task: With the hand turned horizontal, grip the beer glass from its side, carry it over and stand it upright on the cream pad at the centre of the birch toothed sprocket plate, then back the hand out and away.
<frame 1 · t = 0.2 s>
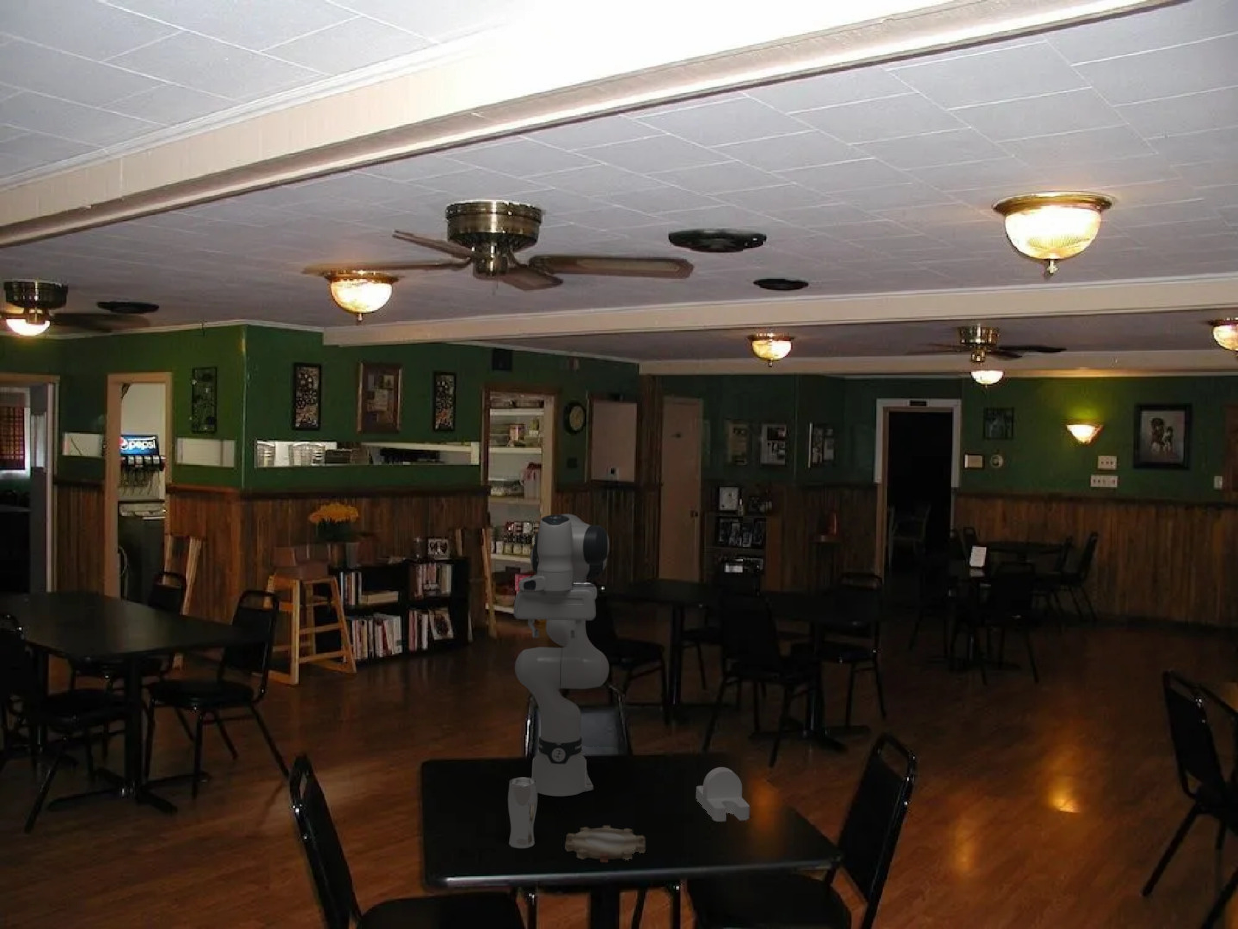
hand: (554, 637, 271), 48 cm above the table, tool pointing down, fingers open, 8 cm apart
tape dispenser: (721, 810, 291), on the table
sprocket plate: (605, 846, 263), on the table
beer glass: (521, 844, 263), on the table
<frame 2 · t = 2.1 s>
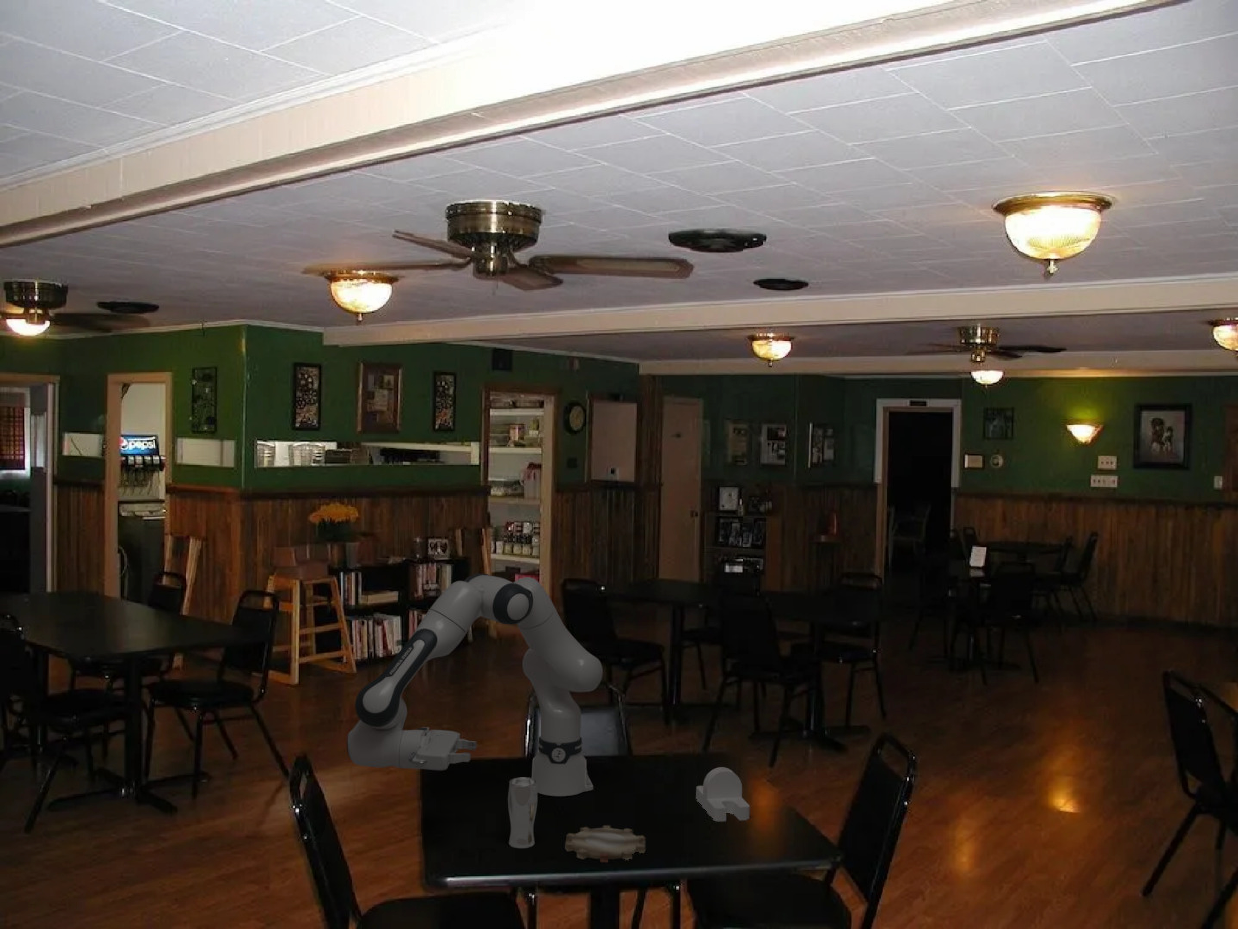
hand: (473, 751, 262), 22 cm above the table, tool horizontal, fingers open, 8 cm apart
nothing on the table moved.
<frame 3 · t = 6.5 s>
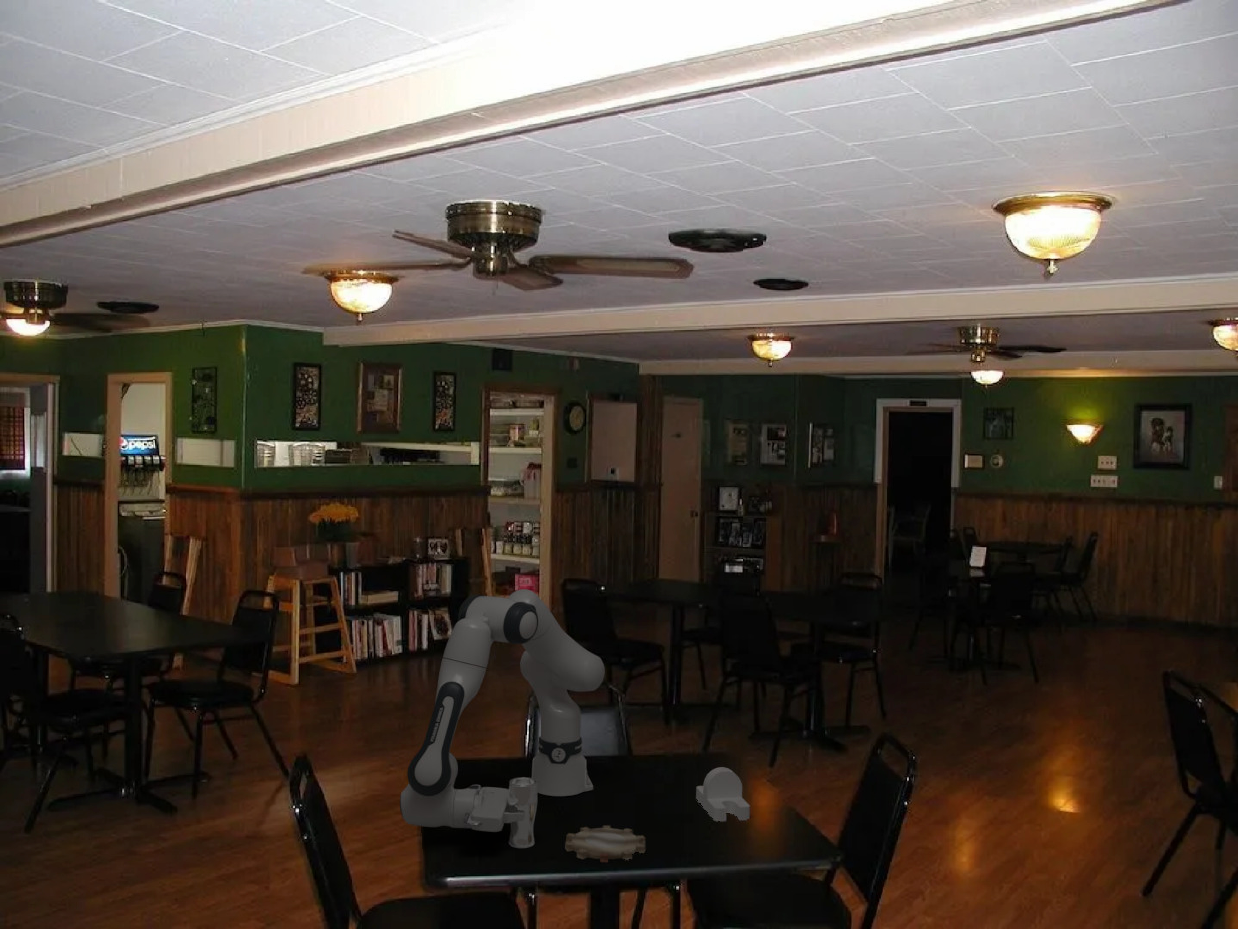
hand: (526, 810, 263), 8 cm above the table, tool horizontal, fingers closed on beer glass, 6 cm apart
beer glass: (521, 844, 263), on the table, touching gripper
everything else where it was.
when the fingers open (10 cm above the table, at t = 11.4 s): beer glass moves 1 cm, resting on sprocket plate.
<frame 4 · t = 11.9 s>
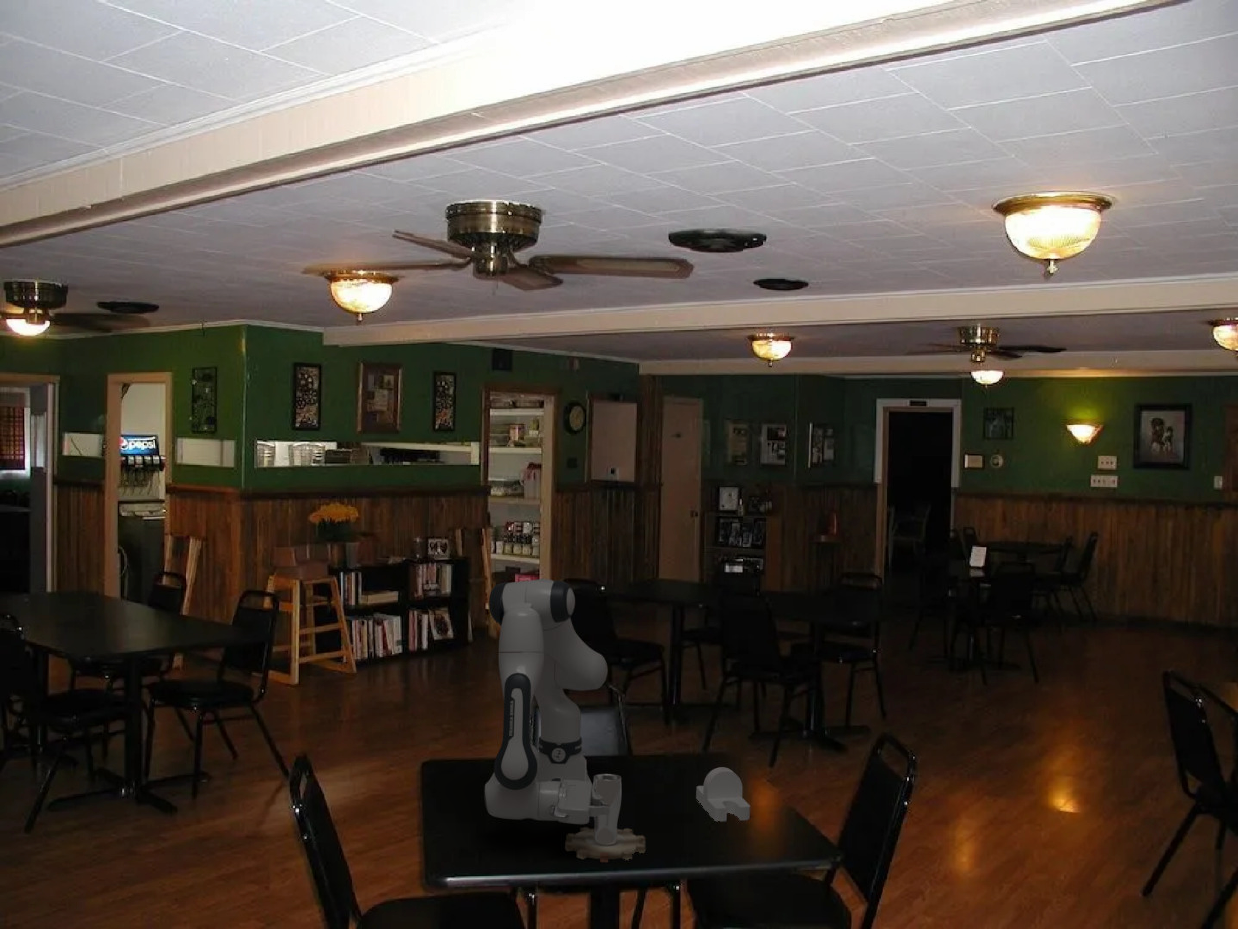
hand: (610, 803, 262), 10 cm above the table, tool horizontal, fingers open, 8 cm apart
beer glass: (605, 842, 261), point 2 cm above the table, touching gripper, sprocket plate
everything else where it was.
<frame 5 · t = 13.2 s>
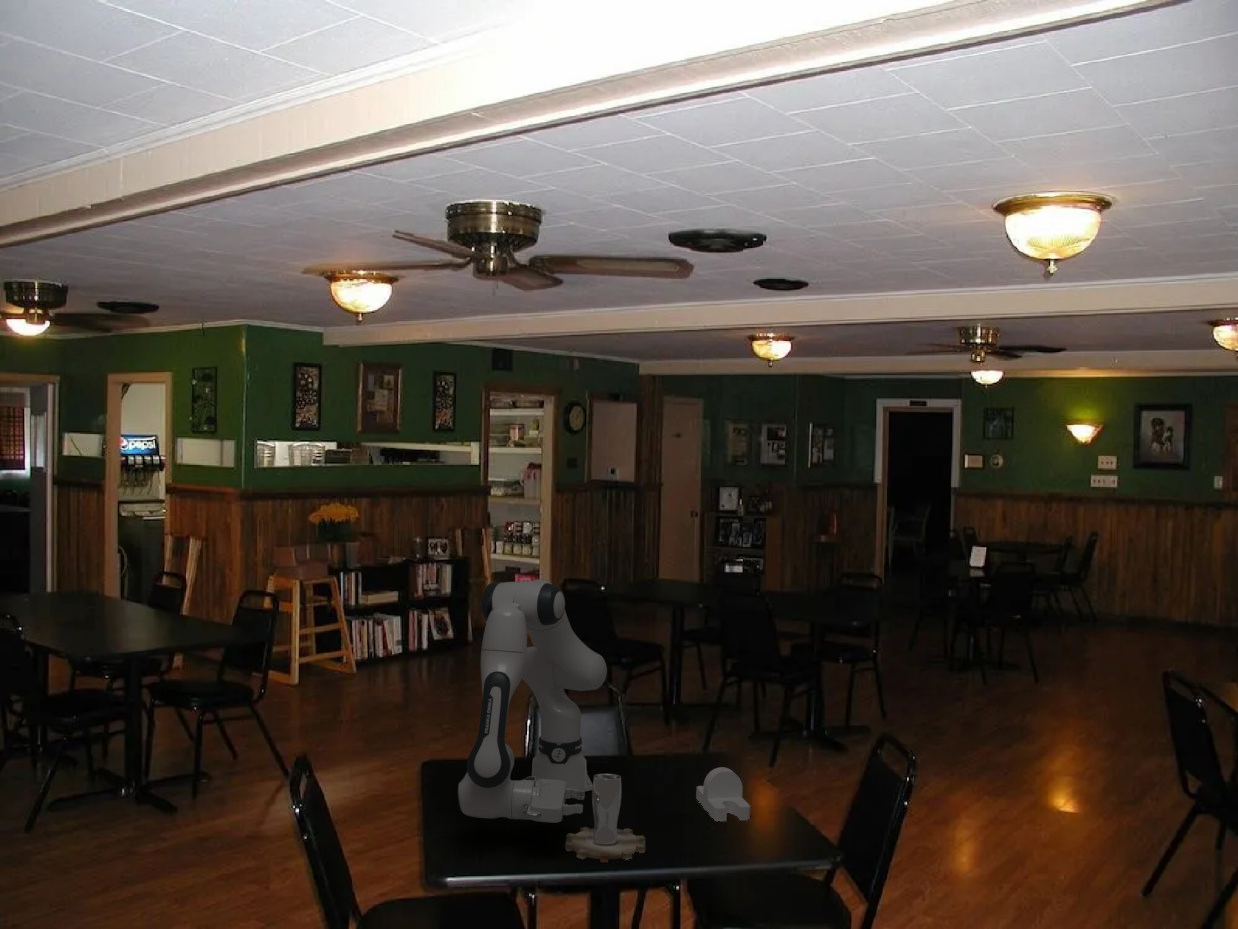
hand: (583, 802, 262), 11 cm above the table, tool horizontal, fingers open, 8 cm apart
beer glass: (605, 841, 261), point 2 cm above the table, touching sprocket plate
everything else where it was.
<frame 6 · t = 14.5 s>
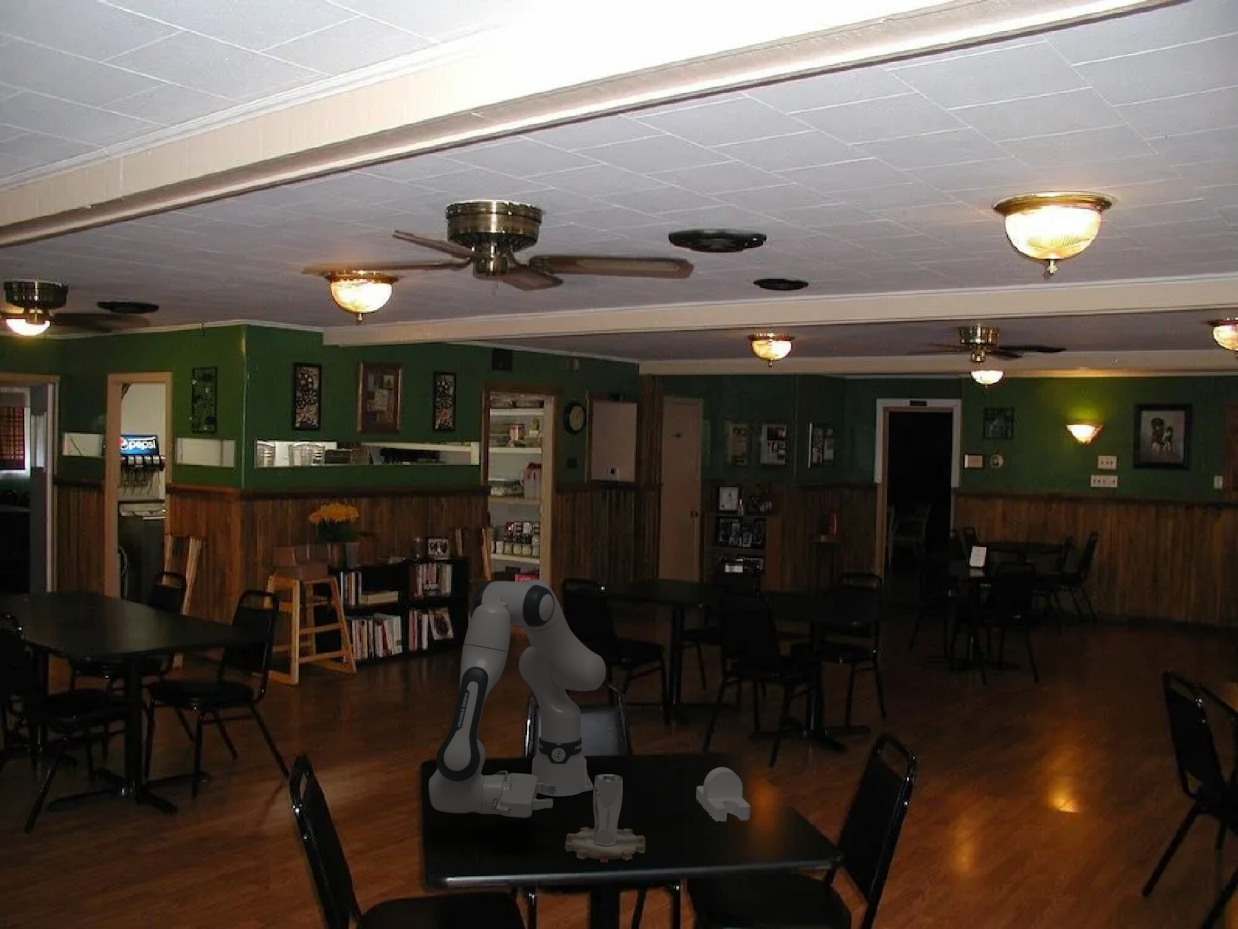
hand: (554, 796, 263), 12 cm above the table, tool horizontal, fingers open, 8 cm apart
nothing on the table moved.
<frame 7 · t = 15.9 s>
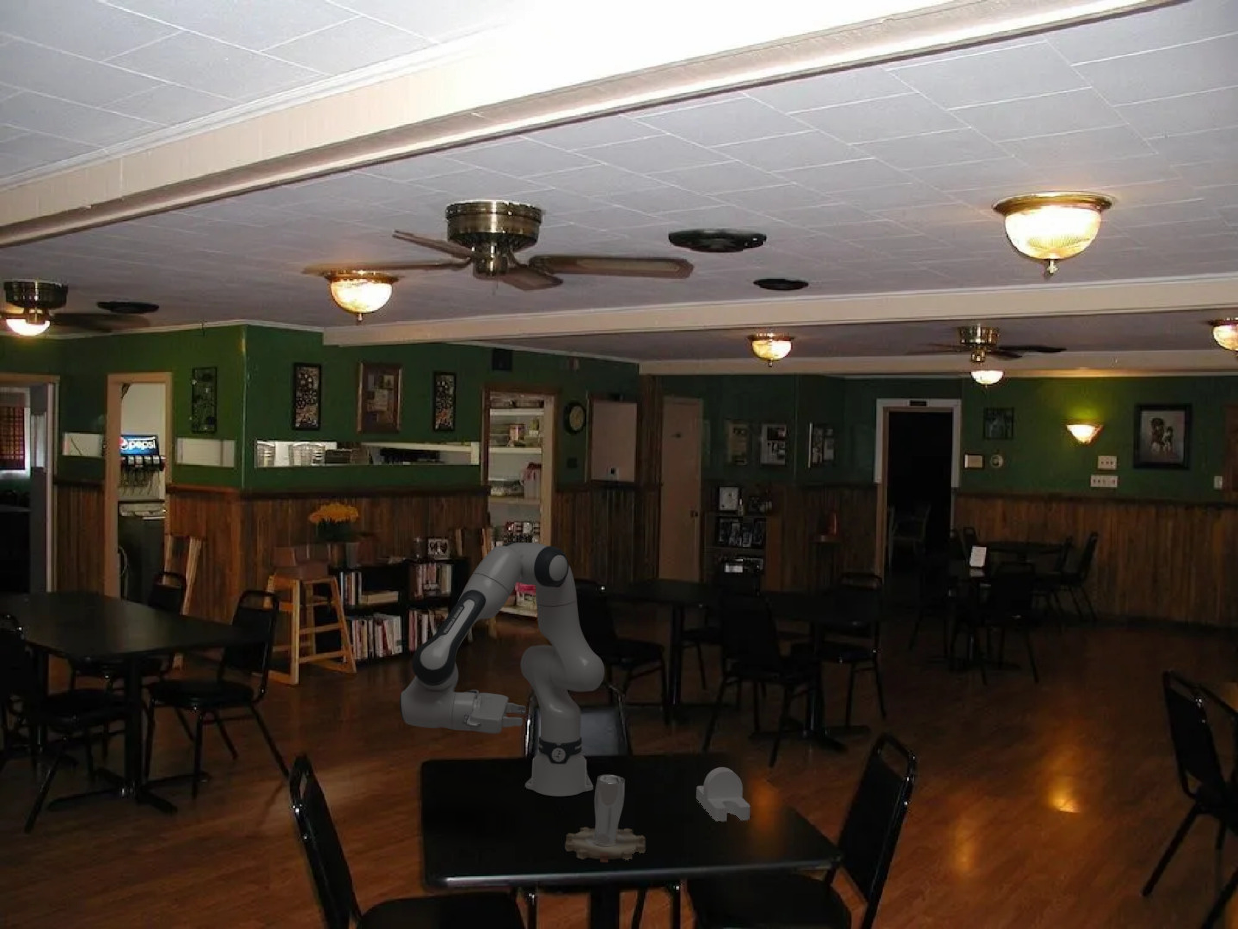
hand: (524, 716, 266), 30 cm above the table, tool horizontal, fingers open, 8 cm apart
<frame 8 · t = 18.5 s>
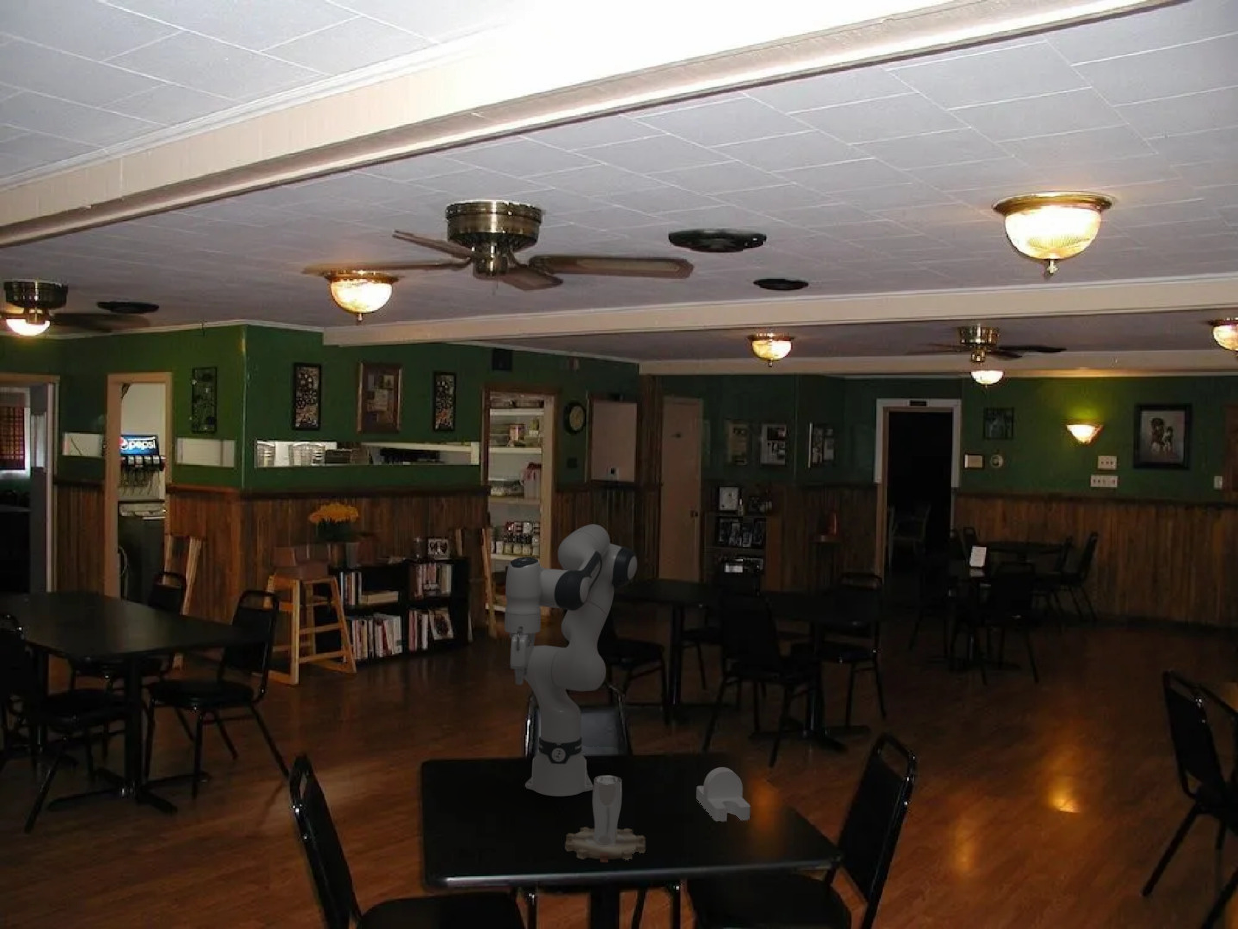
hand: (521, 679, 272), 37 cm above the table, tool pointing down, fingers open, 8 cm apart
at the end: beer glass 1.5 cm from the sprocket plate (horizontally); beer glass tilted 3°; the gripper is holding nothing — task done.
